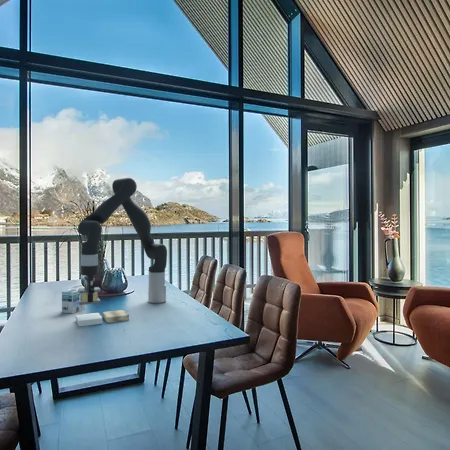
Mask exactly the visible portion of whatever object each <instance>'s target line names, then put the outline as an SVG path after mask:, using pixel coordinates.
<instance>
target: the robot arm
mask: <svg viewBox="0 0 450 450" xmlns="http://www.w3.org/2000/svg"><path fill="white" fill-rule="evenodd" d="M137 185H138V184H137V182H136V181H135V179H133V178H130V177H124V178H117V179H115V180H113V181H112V184H111V187H112V191H113V194H112V196H110V197H109V198H107V199H106V200H105V201H102V203H101V204H99V205H98V207H96V209H95V210H94V211H93V212H92V213H91V214H89V215H87V216H86V217H84V218H83V219H82V220H81V221H80V222H79V224H78V226H77V232H78V234H79V235H81V236H83V237H88V238H87V240H86V241H82V243H81V252H80V253H81V254H80V255H81V256H80V276H84V280H83V281H84V288H86V289H87V290H88V292H87V294H88V302H93V294H94V287H96V286H95V285H96V284H95V283H96V281H95V278H94V276H97V275H98V274H99V254H98V253H99V242H100V239H101V236H102V232H103V229H102V224H104V223H106V222H107V221H108V219H109V218H110V217H111V216H112V215H113V213H114V212H115V211H116V210H117V209H118V208H119V207H120V206H121V207H122V208H123V209H124V211H125V213H126V214H127V217H128V219H129V221H130V223H131V225H132V226H133V229H134V230H135V232H136V233H137V236H138V238H139V240H140V242H141V244H142V248H143V250H144V253H145V255H146V257H147V258H148V259H151V260H153V261H154V262H153V264H152V265H150V266H149V267H148V285H147V286H148V288H147V289H148V290H147V291H148V298H147V301H148V303H151V304H161V303H165V302H167V285H166V267H167V261H168V249H167V246H166V245H165V244H162V243H155V241H154V240H153V238H152V235H151V229H152V225H151V223H152V222H151V221H150V218H149V217H148V214H147V213H146V211H145V210H144V209H143V208H142V207H141V206H139V205H138V204H137V203H135V202H134V200H133V198H132V196H133V195H135V193H136V191H137V188H138V186H137ZM90 289H92V291H90Z"/></svg>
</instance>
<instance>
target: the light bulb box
mask: <svg viewBox="0 0 450 450" xmlns="http://www.w3.org/2000/svg"><path fill="white" fill-rule="evenodd" d="M79 288H80V287H72V288H70V289H66V290H62V291H61V313H62V314H63V313H64V314H75V313H77V312H80V311H82V310H85V309H86V305H79V303H78V300H81V293H80V294H79V292H78V289H79Z"/></svg>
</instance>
